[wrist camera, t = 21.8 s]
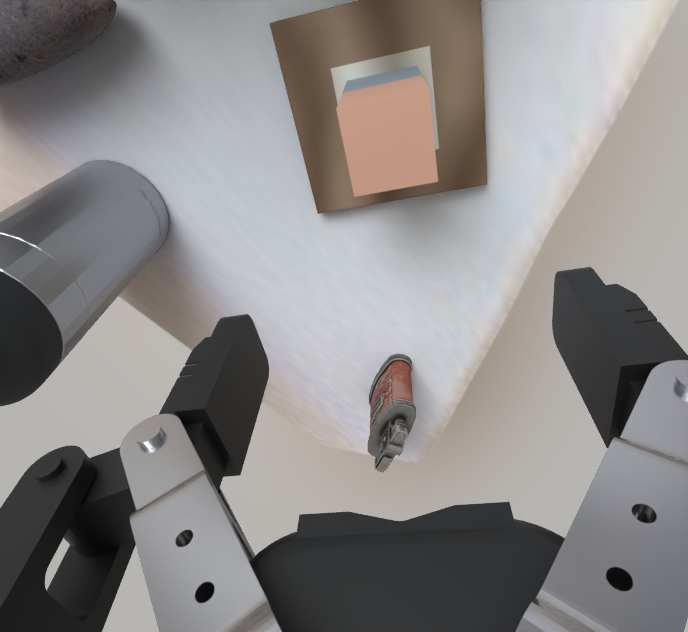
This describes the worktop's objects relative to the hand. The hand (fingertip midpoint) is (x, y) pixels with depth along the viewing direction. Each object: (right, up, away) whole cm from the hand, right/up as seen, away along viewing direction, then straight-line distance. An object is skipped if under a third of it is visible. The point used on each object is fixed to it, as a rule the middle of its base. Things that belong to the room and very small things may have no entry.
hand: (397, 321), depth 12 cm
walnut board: (+2, +16, +23) cm, 28 cm away
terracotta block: (+1, +13, +18) cm, 22 cm away
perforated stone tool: (-24, +21, +22) cm, 39 cm away
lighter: (+4, -7, +39) cm, 40 cm away
